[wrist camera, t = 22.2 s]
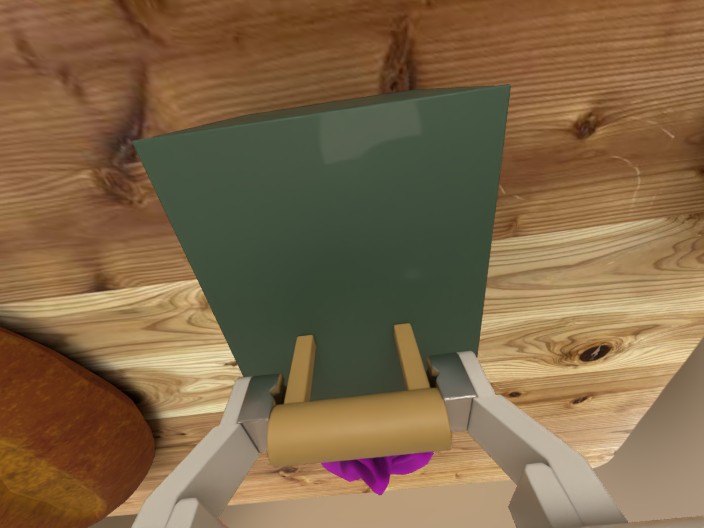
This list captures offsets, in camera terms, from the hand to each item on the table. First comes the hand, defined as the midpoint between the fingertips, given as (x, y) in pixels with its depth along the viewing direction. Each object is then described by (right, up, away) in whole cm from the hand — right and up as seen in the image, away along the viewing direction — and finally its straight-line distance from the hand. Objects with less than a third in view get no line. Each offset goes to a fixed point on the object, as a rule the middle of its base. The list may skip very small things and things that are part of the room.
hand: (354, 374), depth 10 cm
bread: (-33, -12, +22) cm, 42 cm away
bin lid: (0, +3, +2) cm, 4 cm away
